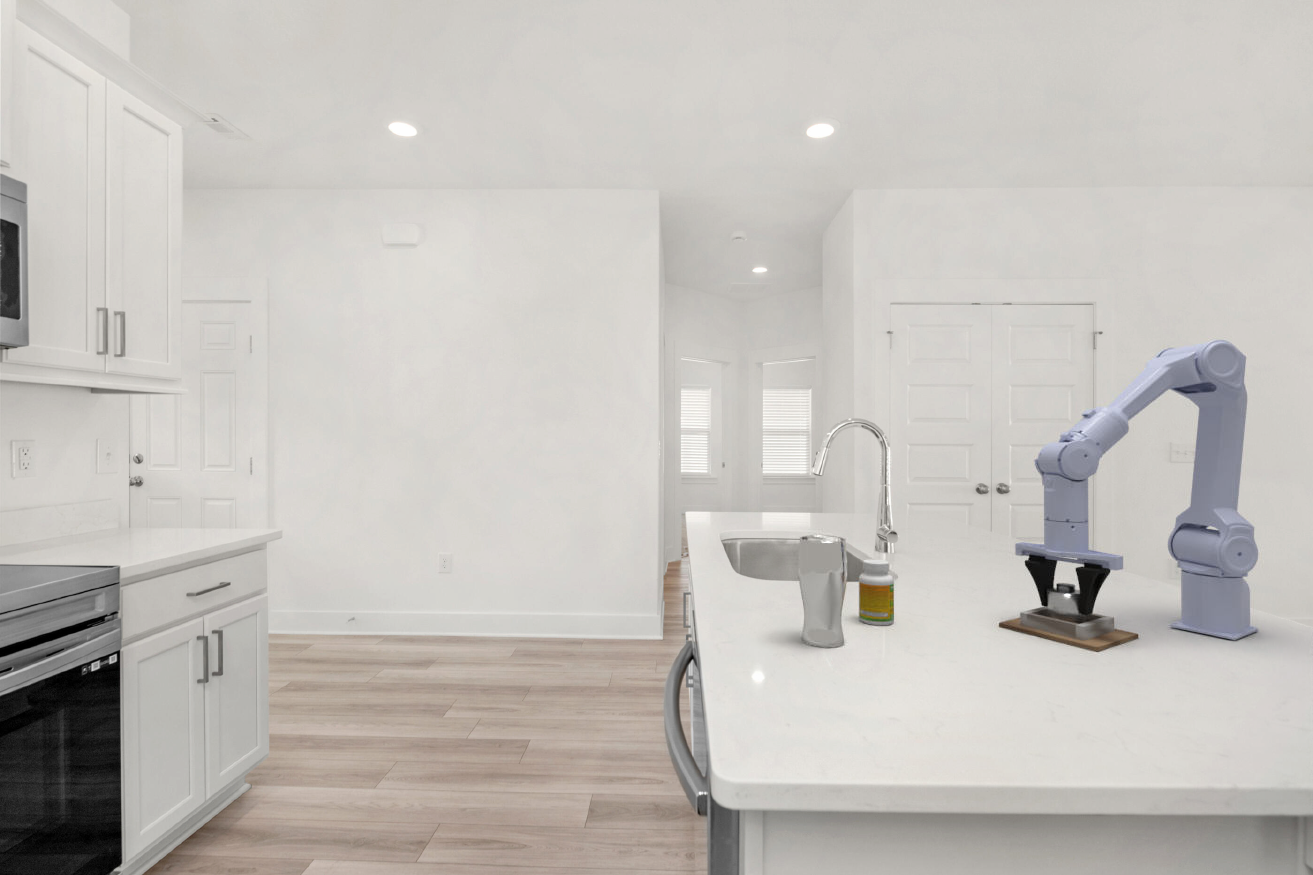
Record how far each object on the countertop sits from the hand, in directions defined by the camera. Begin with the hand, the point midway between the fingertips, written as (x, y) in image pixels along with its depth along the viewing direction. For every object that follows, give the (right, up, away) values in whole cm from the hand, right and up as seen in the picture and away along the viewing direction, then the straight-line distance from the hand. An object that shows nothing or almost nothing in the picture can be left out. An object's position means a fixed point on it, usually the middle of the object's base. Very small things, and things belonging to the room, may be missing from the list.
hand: (1066, 609), depth 97 cm
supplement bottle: (-27, -4, +6) cm, 28 cm away
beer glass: (-38, -4, -4) cm, 39 cm away
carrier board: (0, -3, 0) cm, 3 cm away
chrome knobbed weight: (0, -2, 0) cm, 2 cm away
